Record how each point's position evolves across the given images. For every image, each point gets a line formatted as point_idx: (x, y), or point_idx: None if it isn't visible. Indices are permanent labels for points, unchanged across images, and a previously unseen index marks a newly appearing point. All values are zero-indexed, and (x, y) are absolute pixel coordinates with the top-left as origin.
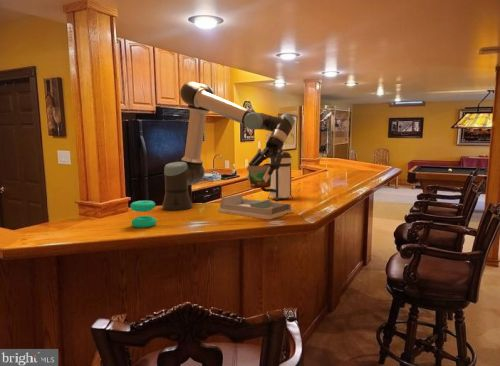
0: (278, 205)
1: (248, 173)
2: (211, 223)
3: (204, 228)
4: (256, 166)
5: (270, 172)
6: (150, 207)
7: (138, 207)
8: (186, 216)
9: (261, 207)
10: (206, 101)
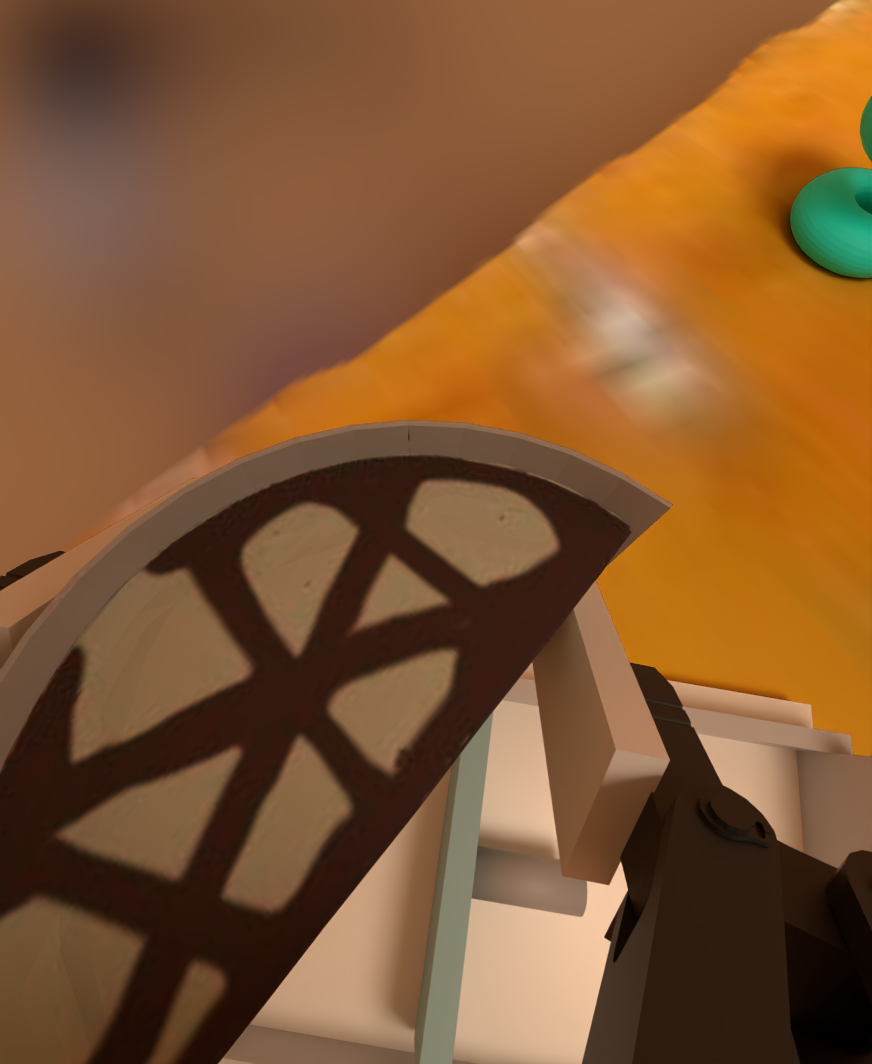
0: (301, 1052)
1: (597, 597)
2: (574, 383)
3: (533, 288)
4: (346, 433)
5: (29, 563)
6: (864, 121)
7: None
8: (852, 476)
9: (440, 853)
10: None
